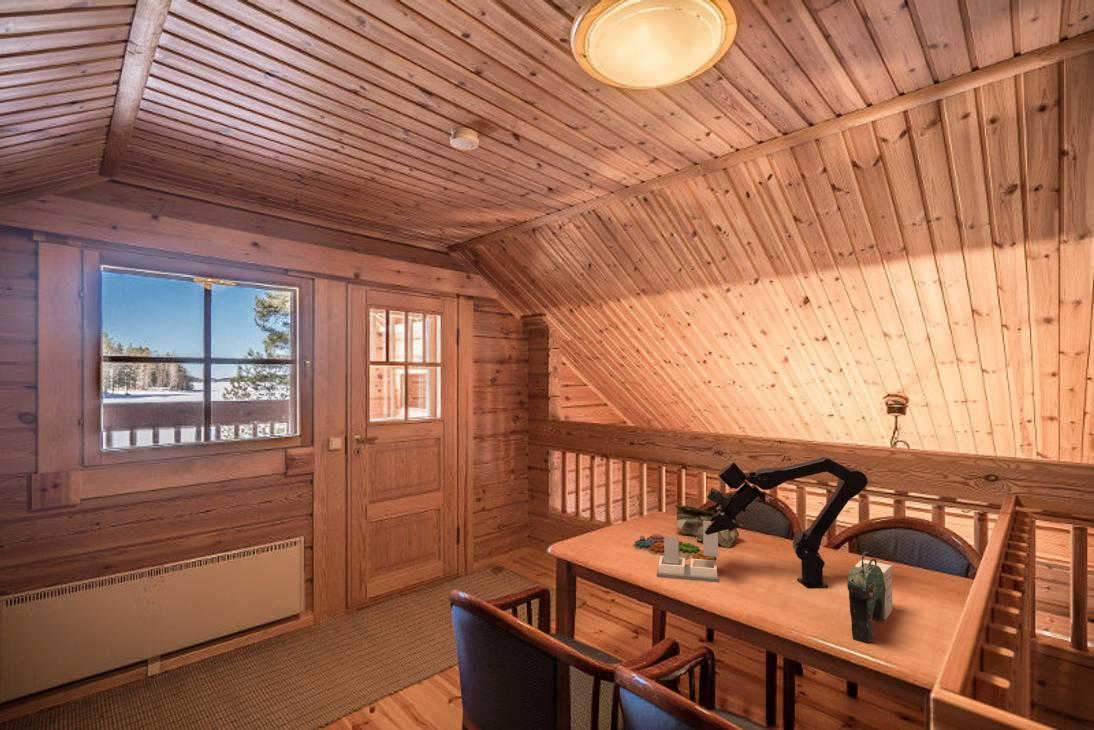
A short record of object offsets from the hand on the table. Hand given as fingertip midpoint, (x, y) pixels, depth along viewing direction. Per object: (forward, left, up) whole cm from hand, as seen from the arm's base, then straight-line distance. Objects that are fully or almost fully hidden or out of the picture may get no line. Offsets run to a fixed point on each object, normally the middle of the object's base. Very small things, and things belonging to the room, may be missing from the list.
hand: (705, 531), depth 174 cm
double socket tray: (+2, +6, -14) cm, 15 cm away
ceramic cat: (-39, -27, -14) cm, 50 cm away
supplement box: (-30, -35, -14) cm, 49 cm away
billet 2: (0, -1, -7) cm, 7 cm away
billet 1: (+4, +10, -13) cm, 17 cm away
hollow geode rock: (+36, -13, -14) cm, 41 cm away
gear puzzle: (+23, +3, -15) cm, 28 cm away
